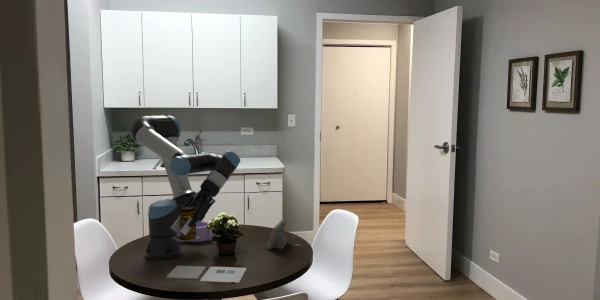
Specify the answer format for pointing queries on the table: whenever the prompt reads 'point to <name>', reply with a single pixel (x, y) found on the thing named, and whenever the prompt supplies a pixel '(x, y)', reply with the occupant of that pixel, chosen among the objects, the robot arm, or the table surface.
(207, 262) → the table surface
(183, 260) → the table surface
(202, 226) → the purple compartment organizer
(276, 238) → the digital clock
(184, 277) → the mat
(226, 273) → the tile
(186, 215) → the condiment
